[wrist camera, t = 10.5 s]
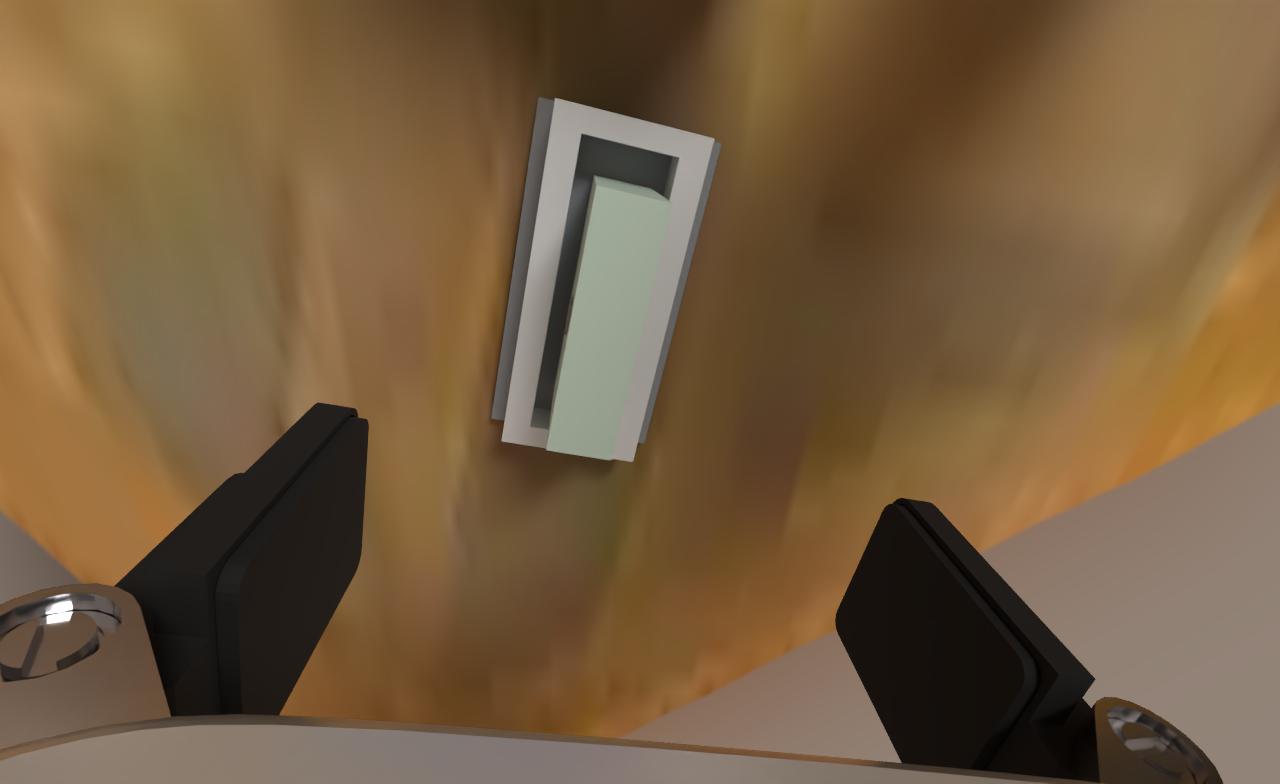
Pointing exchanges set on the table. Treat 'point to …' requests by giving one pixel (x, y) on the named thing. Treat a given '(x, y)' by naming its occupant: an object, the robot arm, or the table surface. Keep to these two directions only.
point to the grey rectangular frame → (549, 249)
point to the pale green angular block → (606, 315)
